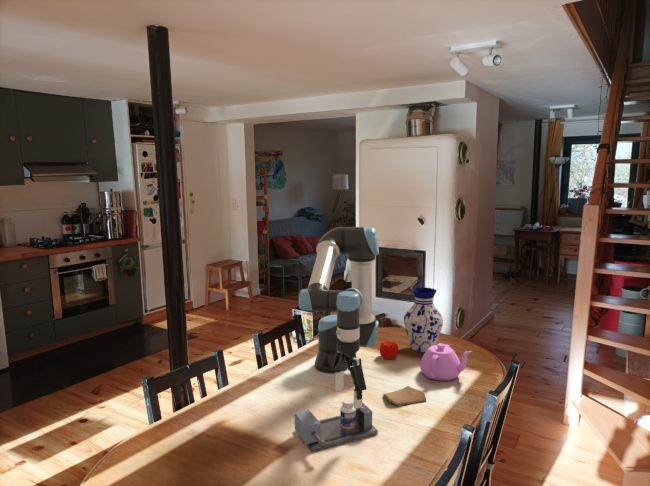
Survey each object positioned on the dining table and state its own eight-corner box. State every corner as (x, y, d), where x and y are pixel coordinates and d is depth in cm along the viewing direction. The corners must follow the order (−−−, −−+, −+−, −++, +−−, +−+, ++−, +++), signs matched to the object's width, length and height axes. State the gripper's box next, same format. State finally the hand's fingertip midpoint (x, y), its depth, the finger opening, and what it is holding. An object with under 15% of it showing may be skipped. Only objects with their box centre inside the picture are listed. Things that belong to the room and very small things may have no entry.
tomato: (385, 352, 229) (385, 337, 228) (401, 356, 224) (401, 341, 223) (375, 358, 221) (375, 343, 220) (392, 363, 216) (392, 347, 215)
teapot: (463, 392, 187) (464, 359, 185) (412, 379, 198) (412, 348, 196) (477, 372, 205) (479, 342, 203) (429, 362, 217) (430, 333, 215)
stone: (427, 402, 180) (427, 394, 179) (391, 408, 175) (391, 400, 174) (413, 390, 190) (413, 382, 190) (378, 395, 185) (378, 388, 184)
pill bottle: (339, 421, 162) (339, 397, 161) (354, 420, 163) (354, 396, 162) (341, 429, 157) (341, 404, 156) (356, 428, 158) (356, 404, 156)
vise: (295, 430, 160) (295, 409, 159) (357, 415, 170) (357, 395, 169) (311, 452, 147) (311, 429, 146) (377, 434, 157) (377, 413, 156)
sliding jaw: (294, 429, 157) (294, 412, 156) (308, 425, 159) (308, 409, 158) (315, 457, 141) (315, 438, 141) (330, 453, 144) (330, 434, 143)
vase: (395, 349, 233) (396, 290, 228) (416, 339, 246) (417, 283, 242) (429, 359, 220) (431, 297, 215) (449, 348, 234) (451, 289, 229)
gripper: (322, 328, 165) (323, 384, 169) (356, 354, 143) (356, 418, 146) (341, 325, 168) (341, 380, 172) (377, 349, 146) (376, 412, 149)
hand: (348, 398), depth 159 cm, fingers open, 13 cm apart
